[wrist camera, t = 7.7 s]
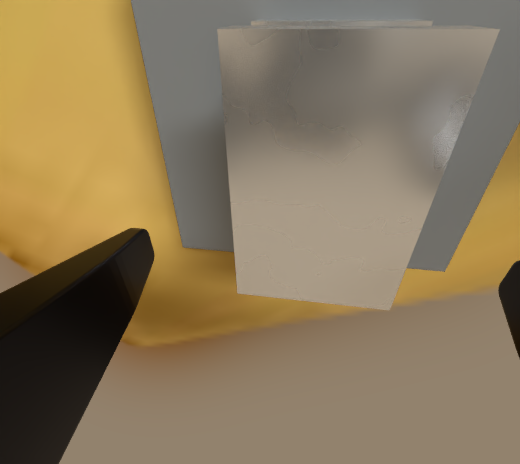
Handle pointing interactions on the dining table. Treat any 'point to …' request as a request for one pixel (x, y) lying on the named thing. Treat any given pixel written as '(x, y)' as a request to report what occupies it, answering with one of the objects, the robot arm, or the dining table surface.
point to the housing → (340, 148)
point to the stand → (314, 8)
